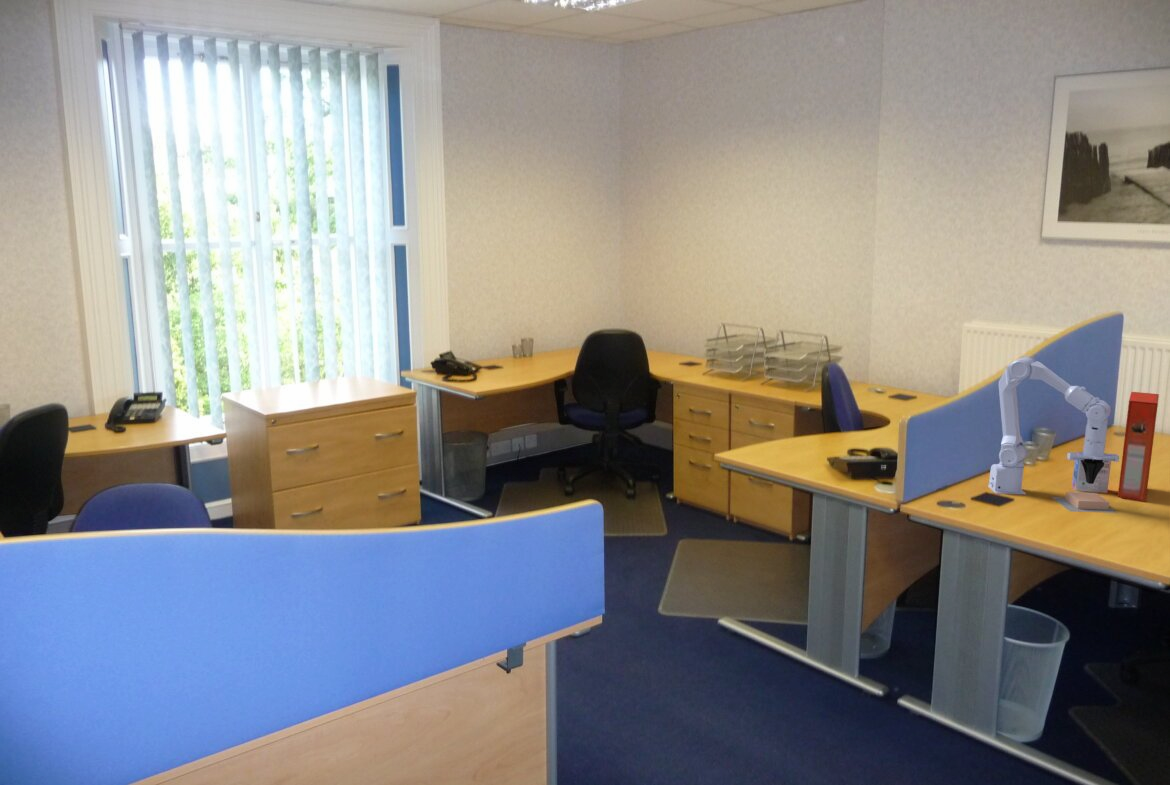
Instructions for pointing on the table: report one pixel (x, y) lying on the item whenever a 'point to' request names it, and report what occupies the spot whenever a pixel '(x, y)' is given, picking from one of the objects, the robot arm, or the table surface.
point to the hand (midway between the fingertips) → (1089, 482)
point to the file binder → (1138, 446)
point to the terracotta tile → (1087, 500)
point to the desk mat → (1073, 508)
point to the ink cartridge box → (1099, 483)
